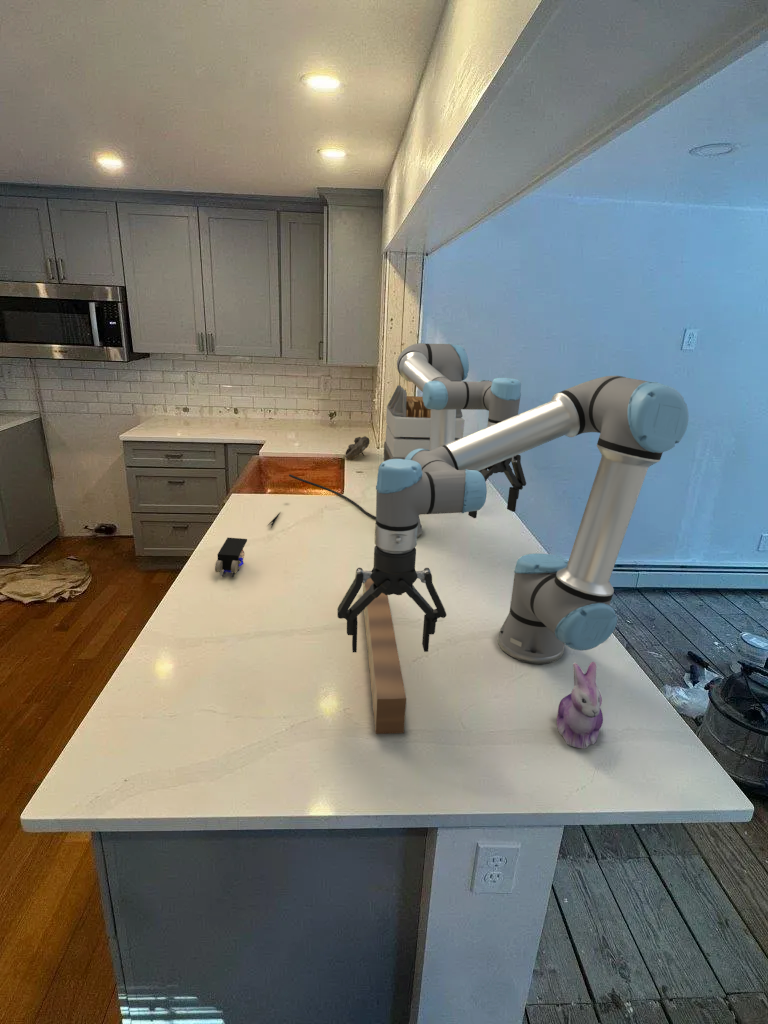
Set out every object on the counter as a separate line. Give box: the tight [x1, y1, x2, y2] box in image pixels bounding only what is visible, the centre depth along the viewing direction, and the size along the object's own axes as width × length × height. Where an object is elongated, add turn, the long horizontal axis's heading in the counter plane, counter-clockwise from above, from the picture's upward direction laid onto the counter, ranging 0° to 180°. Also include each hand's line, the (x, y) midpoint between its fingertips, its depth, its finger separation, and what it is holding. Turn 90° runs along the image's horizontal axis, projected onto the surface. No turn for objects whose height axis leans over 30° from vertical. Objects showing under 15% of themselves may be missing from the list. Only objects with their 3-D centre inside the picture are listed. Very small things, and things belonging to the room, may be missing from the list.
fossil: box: [344, 436, 370, 461], centre depth 300 cm, size 22×10×15 cm
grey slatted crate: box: [383, 384, 465, 462], centre depth 268 cm, size 34×33×41 cm
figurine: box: [556, 661, 604, 749], centre depth 106 cm, size 9×10×15 cm
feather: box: [266, 512, 281, 529], centre depth 211 cm, size 2×28×2 cm
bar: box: [362, 578, 407, 735], centre depth 130 cm, size 53×5×8 cm, turn 5°
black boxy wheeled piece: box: [214, 537, 248, 578], centre depth 166 cm, size 7×8×15 cm
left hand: (492, 513), depth 157 cm, fingers open, 13 cm apart
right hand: (389, 648), depth 108 cm, fingers open, 13 cm apart
